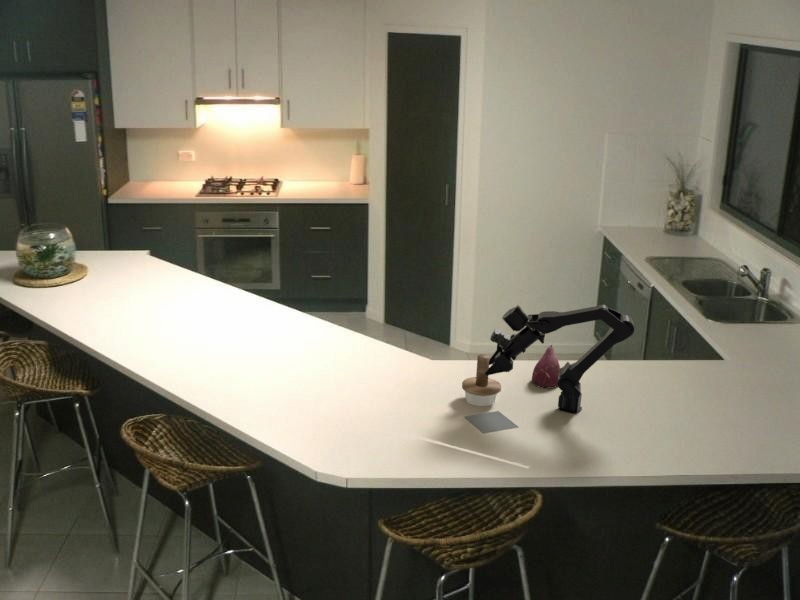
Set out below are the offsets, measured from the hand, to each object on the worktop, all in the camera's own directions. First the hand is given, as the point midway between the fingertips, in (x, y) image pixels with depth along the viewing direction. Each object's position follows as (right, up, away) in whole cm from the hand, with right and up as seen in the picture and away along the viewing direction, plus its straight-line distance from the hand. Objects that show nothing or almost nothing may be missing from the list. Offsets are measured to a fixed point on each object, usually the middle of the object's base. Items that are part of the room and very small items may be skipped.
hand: (486, 369), depth 334 cm
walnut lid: (-2, -6, +2) cm, 7 cm away
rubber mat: (0, -17, -12) cm, 21 cm away
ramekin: (-2, -12, +4) cm, 12 cm away
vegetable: (+23, -7, +22) cm, 32 cm away
